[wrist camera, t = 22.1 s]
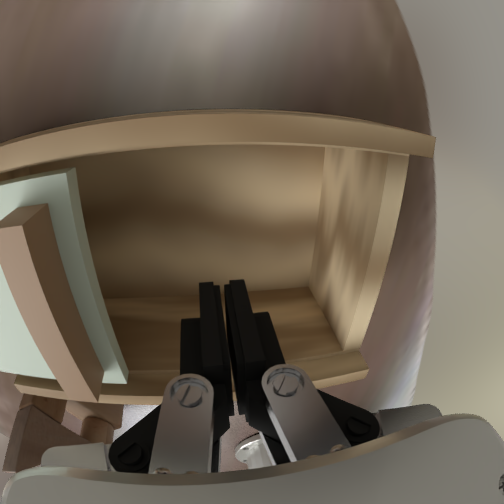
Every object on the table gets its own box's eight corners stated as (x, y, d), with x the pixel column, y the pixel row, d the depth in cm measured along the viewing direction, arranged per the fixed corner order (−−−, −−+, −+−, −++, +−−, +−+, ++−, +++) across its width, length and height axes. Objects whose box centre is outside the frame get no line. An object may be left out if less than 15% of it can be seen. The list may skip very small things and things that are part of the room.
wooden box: (316, 290, 24) (365, 378, 16) (59, 303, 21) (20, 392, 13) (337, 115, 18) (435, 137, 9) (19, 136, 14) (-75, 175, 6)
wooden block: (52, 346, 23) (8, 512, 8) (125, 402, 28) (119, 548, 13) (36, 357, 24) (-5, 506, 8) (106, 409, 29) (96, 544, 13)
